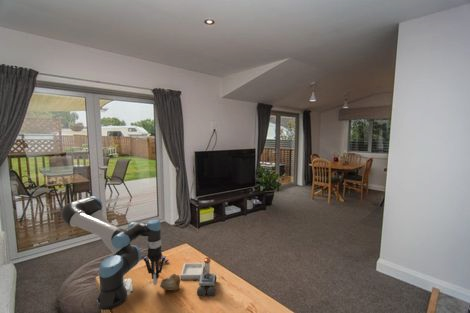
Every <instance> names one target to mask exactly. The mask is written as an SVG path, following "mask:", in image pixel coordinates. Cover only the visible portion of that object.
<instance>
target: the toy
mask: <svg viewBox="0 0 470 313" xmlns="http://www.w3.org/2000/svg"><path fill="white" fill-rule="evenodd" d="M169 260H170V259H167V258H165V260H164V263H166V264H167V263H169V262H168V261H169ZM161 261H162V260H161V258H160V259H159V264H161Z"/></svg>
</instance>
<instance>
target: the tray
mask: <svg viewBox="0 0 470 313" xmlns="http://www.w3.org/2000/svg"><path fill="white" fill-rule="evenodd" d="M204 271H205V262H184V263H183V266H182V270H181V272H180V274H179V276H180V281H181V280H199V277H200V275H201V274H204Z"/></svg>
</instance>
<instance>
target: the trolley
mask: <svg viewBox="0 0 470 313" xmlns="http://www.w3.org/2000/svg"><path fill="white" fill-rule="evenodd" d="M198 281H199V282H198V287H197V290H196V295H197V296H198V297H199V298H202V297H204V296H205V295H207V296H208V297H214V296H215V295H216V294H217V289H216V287H215V283H216V282H217V275H216V273H210V278H209V279H205V273H203V274H201V275H200V277H199V279H198ZM205 286H208V287H207V289H206V287H205Z"/></svg>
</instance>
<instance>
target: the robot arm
mask: <svg viewBox="0 0 470 313" xmlns="http://www.w3.org/2000/svg"><path fill="white" fill-rule="evenodd" d="M103 213H104V210H103V202H102V201H101V199H100V198H98V197H96V196H86V197H84V198H81V199H78V200H75V201H72V202H69V203H67V204H66V205H64V206H63V208H62V209H61V213H60V218H61V220H62V221H63V222H64V223H65V224H66V225H68V226H70V227H73V228H80V229H81V230H84V231H87V232H88V233H91V234H94V235H96V236H99V238H100V239H101V240H102V242H103V243H104V244H105V245H106V247H107V248H108V250H110V252H111V256H107V257H106V258H105V259H103V260H102V261H101V263H100V264H99V268H98V275H99V276H98V279H99V293H98V295H97V299H96V307H97V308H98V309H100V310H103V311H106V310H107V311H109V310H112V308H113V309H115V308H114V307H116V308H117V306H118V307H119V306H120V305H123V304H124V302H125V301H126V300H127V299H128V290H127V287H126V286H125V284H124V283H125V282H124V276H125V275H126V274H127V273H128V272H130V271H131V270H132V269H133V268H135V267H136V266H137V264H139V262H140V261H141V259H142V251H141V249H140V248H139V246H138V245H133V244H131V243H132V242H133V241H134V240H136V239H138V238H139V237H147V255H145V256H144V258H143V261H144V262H145V266H146V270H147V273H148V274H151V279H152V281H153V286H157V283H158V279H159V277H160V274H161V273H162V271H163V269H164V268H163V267H164V263H165V262H164V260H165V259H167V258H166V257H167V256H166V255H163V253H162V237H161V236H162V234H161V233H162V230H161V229H162V227H161V226H162V225H161V221H160V220H159V219H150V220H148V221H147V222H140V221H132V222H130V223H129V225H128V226H127V228H126V229H123V228H120V227H118V226H116V225H113V224H111V223H110V222H109V220H108V219H107V218H106V216H105V215H104V214H103ZM160 258H161V263H159V259H160Z"/></svg>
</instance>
